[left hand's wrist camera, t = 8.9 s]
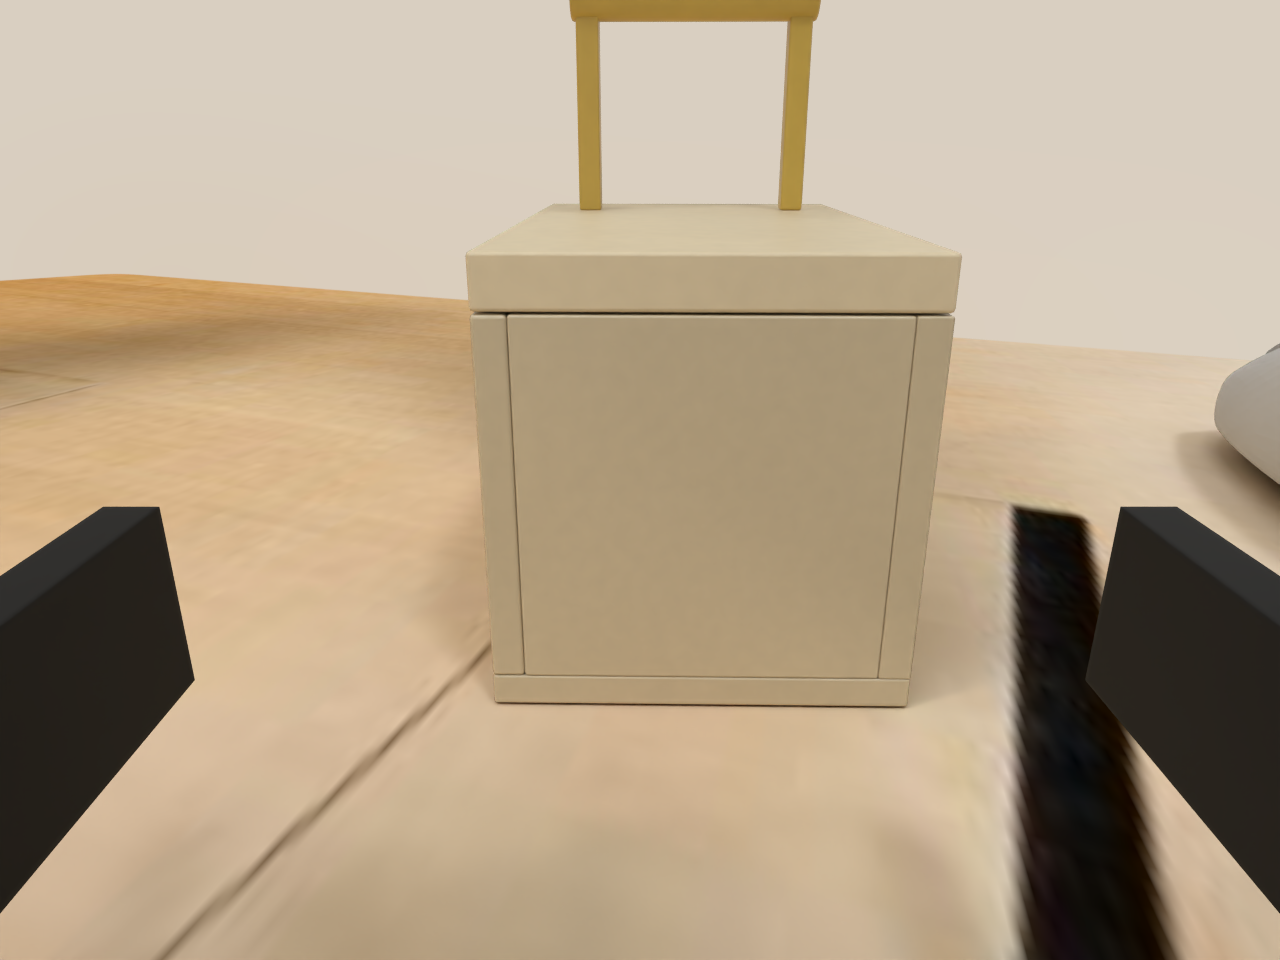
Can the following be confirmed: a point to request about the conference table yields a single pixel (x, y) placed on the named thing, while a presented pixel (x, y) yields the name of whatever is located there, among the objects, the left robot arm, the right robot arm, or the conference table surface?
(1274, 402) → the projector
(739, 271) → the lid
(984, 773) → the conference table surface
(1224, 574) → the left robot arm
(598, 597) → the chest
